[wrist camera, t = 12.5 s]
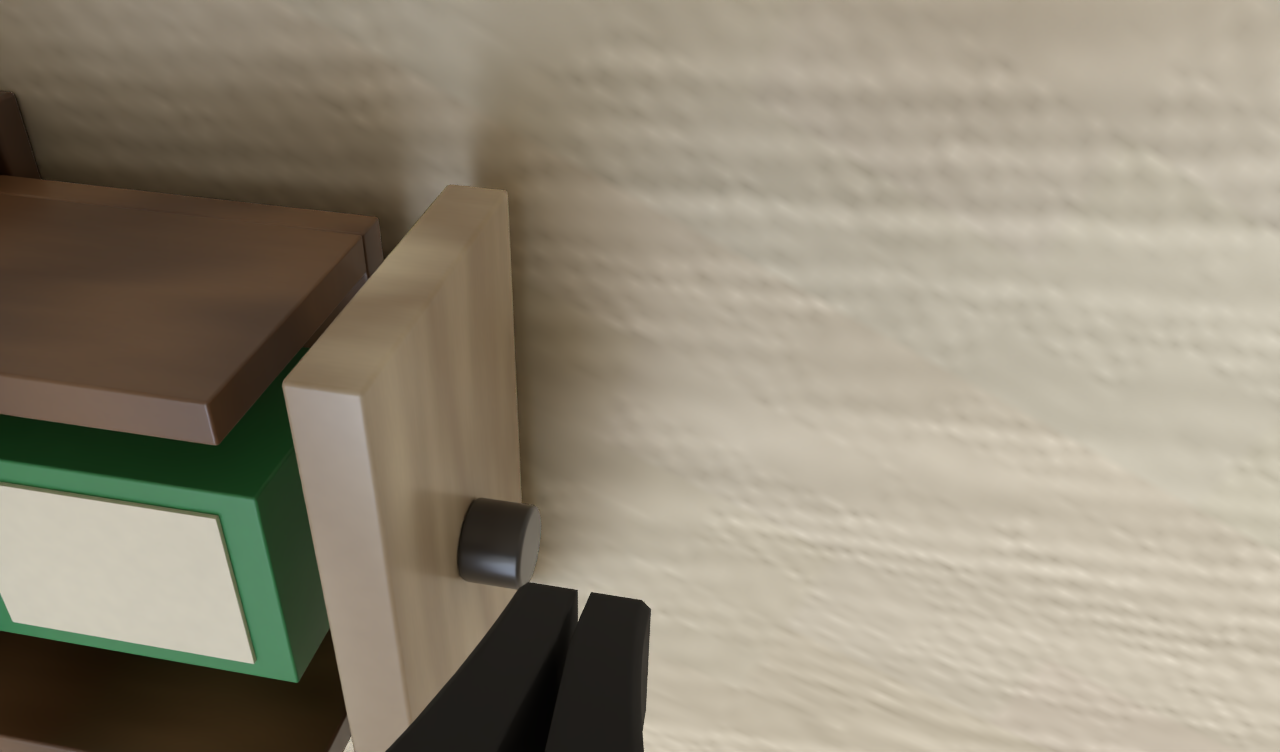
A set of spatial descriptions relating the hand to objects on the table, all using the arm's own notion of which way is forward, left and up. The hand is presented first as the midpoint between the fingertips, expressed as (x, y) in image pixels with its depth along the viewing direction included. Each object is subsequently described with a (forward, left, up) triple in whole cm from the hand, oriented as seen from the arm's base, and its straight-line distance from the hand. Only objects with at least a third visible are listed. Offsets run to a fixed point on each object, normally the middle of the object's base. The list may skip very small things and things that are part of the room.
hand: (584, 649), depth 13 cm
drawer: (+4, -9, -9) cm, 13 cm away
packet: (+4, -10, -8) cm, 13 cm away
